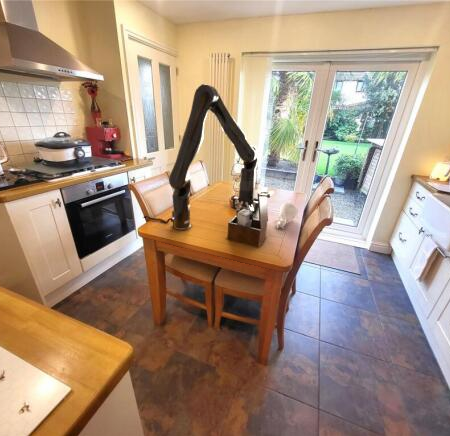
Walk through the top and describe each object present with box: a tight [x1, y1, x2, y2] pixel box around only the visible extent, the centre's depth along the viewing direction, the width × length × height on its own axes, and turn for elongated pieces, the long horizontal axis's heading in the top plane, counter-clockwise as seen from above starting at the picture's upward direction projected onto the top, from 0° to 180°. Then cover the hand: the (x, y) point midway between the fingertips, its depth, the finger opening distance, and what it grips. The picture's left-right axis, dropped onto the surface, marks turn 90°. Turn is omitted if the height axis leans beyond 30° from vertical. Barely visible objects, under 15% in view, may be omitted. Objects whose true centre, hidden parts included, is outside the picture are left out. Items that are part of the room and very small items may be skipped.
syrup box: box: [237, 208, 252, 227], centre depth 124 cm, size 6×6×14 cm
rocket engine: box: [275, 202, 299, 230], centre depth 143 cm, size 12×12×18 cm
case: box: [227, 215, 268, 248], centre depth 125 cm, size 18×12×10 cm, turn 64°
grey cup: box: [243, 197, 259, 219], centre depth 149 cm, size 10×10×12 cm
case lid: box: [257, 186, 275, 230], centre depth 115 cm, size 18×12×5 cm
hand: (244, 218), depth 123 cm, fingers closed on syrup box, 6 cm apart
